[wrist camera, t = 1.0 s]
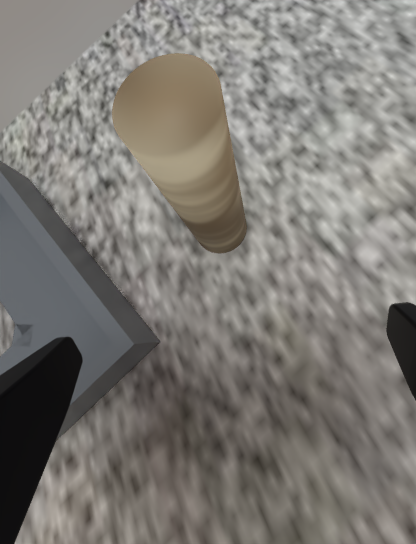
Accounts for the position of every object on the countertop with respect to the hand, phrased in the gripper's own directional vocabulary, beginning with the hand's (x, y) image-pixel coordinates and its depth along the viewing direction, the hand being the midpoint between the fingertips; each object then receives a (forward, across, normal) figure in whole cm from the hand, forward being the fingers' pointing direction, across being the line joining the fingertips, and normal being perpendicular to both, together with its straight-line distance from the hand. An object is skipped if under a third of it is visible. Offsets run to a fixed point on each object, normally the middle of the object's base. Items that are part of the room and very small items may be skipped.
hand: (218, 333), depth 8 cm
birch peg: (+15, +1, +3) cm, 15 cm away
